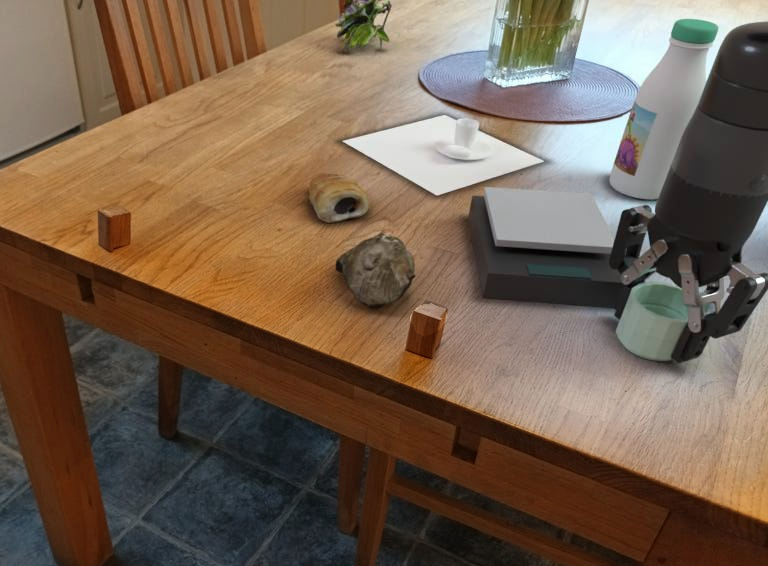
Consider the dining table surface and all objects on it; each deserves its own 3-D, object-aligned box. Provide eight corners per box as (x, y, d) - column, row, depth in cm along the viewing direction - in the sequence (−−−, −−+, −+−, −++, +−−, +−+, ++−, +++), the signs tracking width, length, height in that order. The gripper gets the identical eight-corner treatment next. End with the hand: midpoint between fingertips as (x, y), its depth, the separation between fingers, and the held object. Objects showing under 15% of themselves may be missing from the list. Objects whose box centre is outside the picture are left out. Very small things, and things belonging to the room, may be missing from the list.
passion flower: (347, 70, 144) (360, 9, 144) (396, 69, 139) (409, 7, 138) (320, 47, 135) (333, -18, 134) (371, 45, 129) (385, -22, 128)
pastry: (297, 190, 91) (298, 162, 88) (347, 185, 92) (349, 157, 90) (320, 226, 84) (322, 196, 81) (374, 219, 85) (377, 189, 83)
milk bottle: (672, 181, 95) (734, 19, 82) (669, 206, 89) (736, 36, 77) (610, 170, 97) (662, 10, 84) (604, 193, 92) (658, 26, 79)
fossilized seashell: (431, 296, 68) (415, 257, 77) (400, 239, 66) (388, 205, 74) (360, 331, 70) (353, 289, 79) (328, 277, 68) (324, 240, 76)
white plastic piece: (458, 169, 96) (463, 139, 94) (418, 148, 102) (422, 120, 99) (504, 155, 100) (510, 126, 98) (463, 135, 105) (468, 108, 103)
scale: (587, 226, 85) (598, 190, 82) (623, 308, 72) (638, 269, 69) (467, 218, 86) (474, 182, 83) (482, 298, 73) (491, 259, 70)
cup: (673, 325, 70) (692, 284, 67) (695, 366, 65) (716, 324, 62) (607, 320, 70) (622, 279, 67) (623, 361, 65) (641, 318, 62)
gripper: (841, 200, 53) (745, 373, 63) (686, 130, 63) (625, 289, 73) (770, 219, 50) (682, 395, 61) (620, 142, 60) (567, 305, 71)
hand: (651, 336), depth 67 cm, fingers closed on cup, 6 cm apart
